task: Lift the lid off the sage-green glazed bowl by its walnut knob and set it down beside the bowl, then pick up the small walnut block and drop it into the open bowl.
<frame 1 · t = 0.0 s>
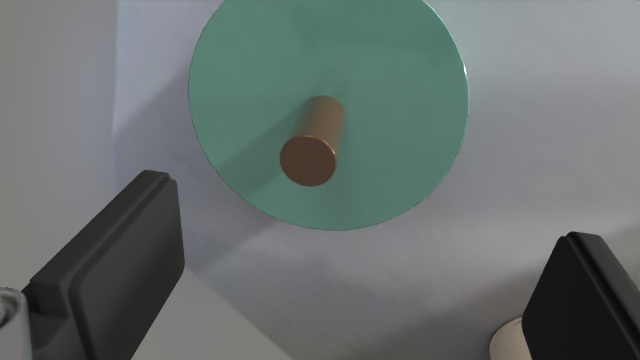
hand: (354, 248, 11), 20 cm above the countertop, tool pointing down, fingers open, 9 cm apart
lid: (324, 113, 22), point 7 cm above the countertop, touching bowl
teacup with lid: (555, 343, 38), on the countertop
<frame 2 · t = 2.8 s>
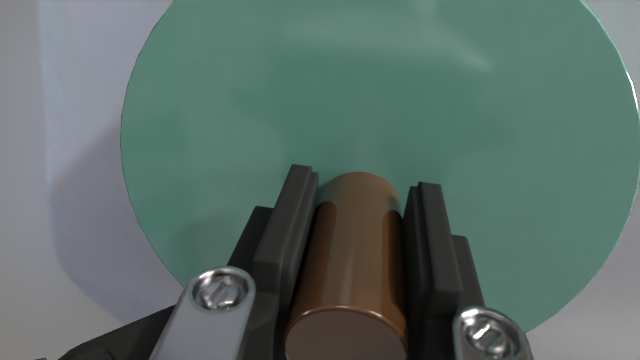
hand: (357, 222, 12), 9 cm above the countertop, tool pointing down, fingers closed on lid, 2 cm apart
lid: (360, 197, 13), point 8 cm above the countertop, touching bowl, gripper
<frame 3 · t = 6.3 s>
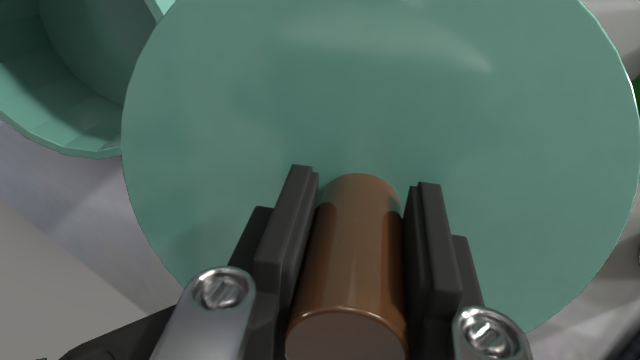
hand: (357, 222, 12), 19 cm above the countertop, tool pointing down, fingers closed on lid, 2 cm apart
bowl: (128, 22, 29), on the countertop
lid: (360, 198, 13), point 18 cm above the countertop, touching gripper
when the fingers open (2 cm above the countertop, at t = 10.2 s): lid stays where it is, point 1 cm above the countertop.
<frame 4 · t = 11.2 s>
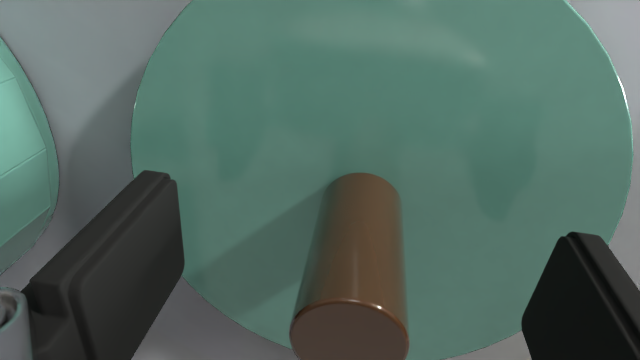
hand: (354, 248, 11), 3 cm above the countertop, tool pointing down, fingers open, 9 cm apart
lid: (361, 197, 13), point 1 cm above the countertop
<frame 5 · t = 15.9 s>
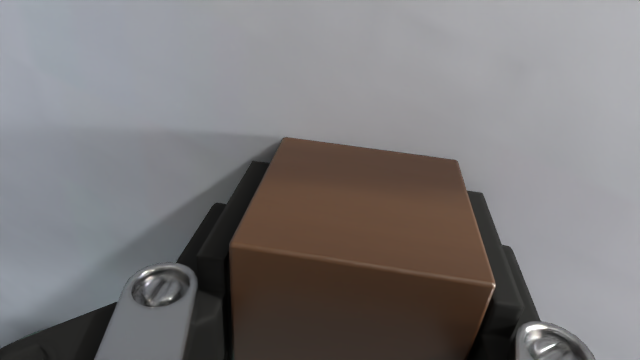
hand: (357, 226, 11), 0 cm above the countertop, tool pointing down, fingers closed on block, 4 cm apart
block: (357, 218, 12), on the countertop, touching gripper
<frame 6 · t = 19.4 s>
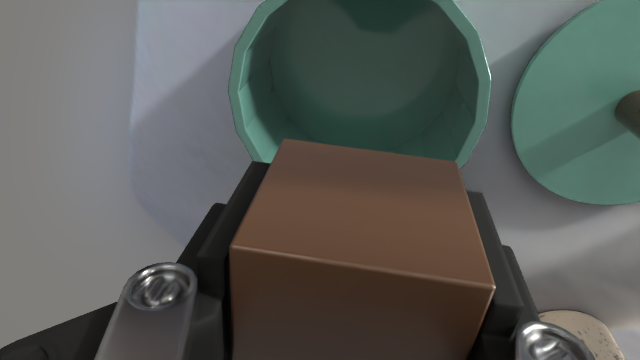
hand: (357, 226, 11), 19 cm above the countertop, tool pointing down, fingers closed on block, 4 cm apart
bowl: (361, 67, 28), on the countertop
block: (357, 219, 12), point 19 cm above the countertop, touching gripper
lid: (632, 105, 27), point 1 cm above the countertop
teacup with lid: (572, 340, 38), on the countertop
when the fingers open (5 cm above the countertop, at t = 23.2 s): block drops 4 cm, resting on bowl.
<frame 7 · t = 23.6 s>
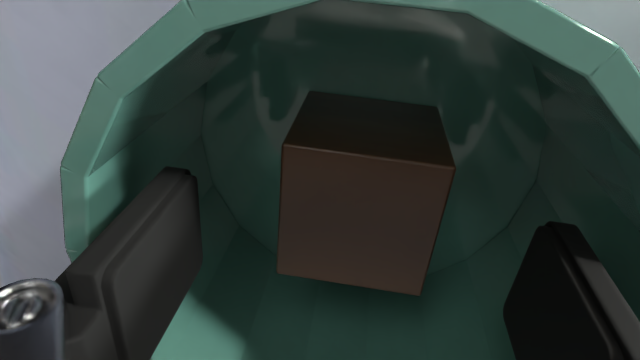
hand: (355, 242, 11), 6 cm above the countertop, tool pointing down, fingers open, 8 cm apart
bowl: (364, 150, 16), on the countertop
block: (363, 155, 15), resting on bowl
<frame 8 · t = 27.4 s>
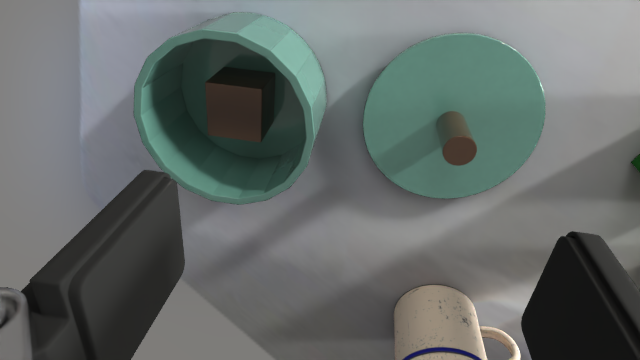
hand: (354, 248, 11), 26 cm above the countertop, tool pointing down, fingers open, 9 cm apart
bowl: (251, 93, 37), on the countertop
block: (249, 94, 37), resting on bowl
lid: (450, 122, 35), point 1 cm above the countertop
teacup with lid: (447, 310, 47), on the countertop
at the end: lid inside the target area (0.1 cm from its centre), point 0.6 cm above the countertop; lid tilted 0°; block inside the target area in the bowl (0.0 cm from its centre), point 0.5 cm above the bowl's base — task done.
